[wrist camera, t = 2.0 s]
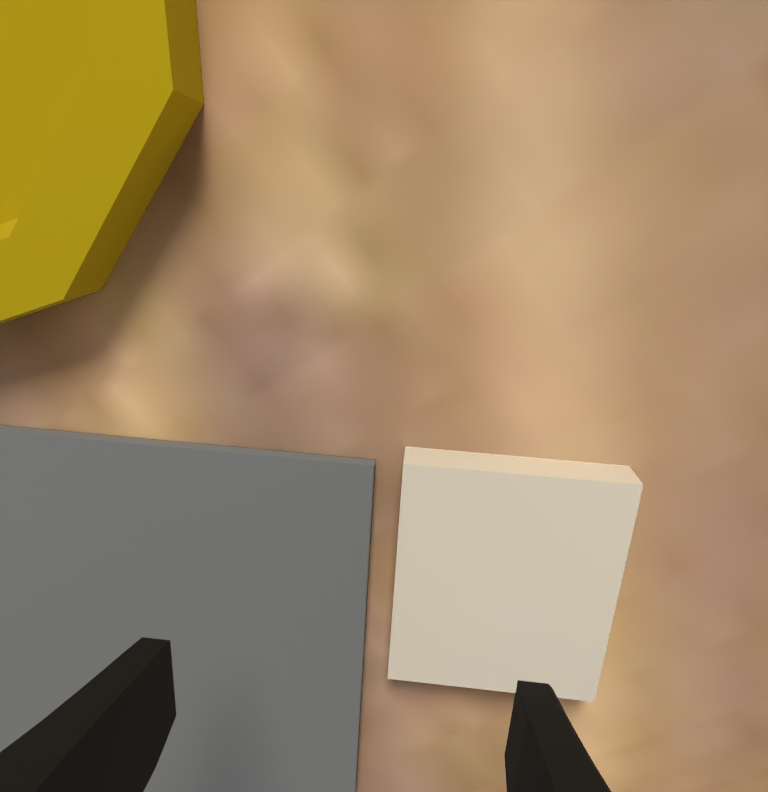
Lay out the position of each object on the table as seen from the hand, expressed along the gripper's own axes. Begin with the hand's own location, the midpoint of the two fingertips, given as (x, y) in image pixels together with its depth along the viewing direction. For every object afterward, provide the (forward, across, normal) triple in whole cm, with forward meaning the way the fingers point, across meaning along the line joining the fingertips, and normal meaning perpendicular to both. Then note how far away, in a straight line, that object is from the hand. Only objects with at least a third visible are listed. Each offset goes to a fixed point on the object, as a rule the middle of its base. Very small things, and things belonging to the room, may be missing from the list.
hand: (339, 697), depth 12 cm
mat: (+5, +8, +5) cm, 11 cm away
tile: (+5, -1, 0) cm, 5 cm away
